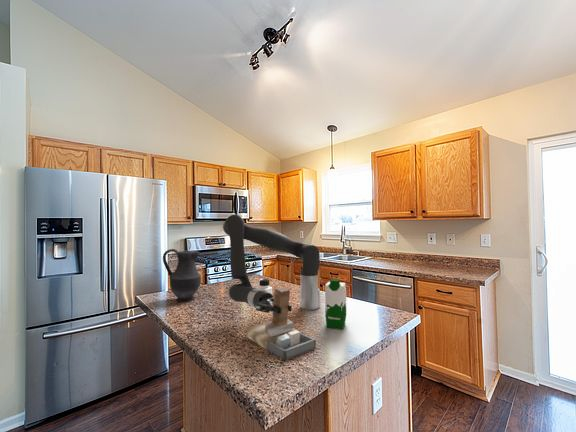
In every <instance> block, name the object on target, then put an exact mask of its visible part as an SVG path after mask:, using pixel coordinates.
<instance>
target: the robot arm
mask: <svg viewBox="0 0 576 432" xmlns="http://www.w3.org/2000/svg"><path fill="white" fill-rule="evenodd" d="M222 228H223V232H224V233H225V234H226V235H228V236H229V240H230V241H229V242H230V254H229V256H230V258H229V263H230V264H229V265H230V273H231V274H230V275H231V278H232V279H234V280H239V281H240V283H235V284H233V285H231V286H230V287H229V289H228V295H229V297H230V299H231V300H232V301H235V302H238V303H246V304H248V305H251V307H253V308H255V311H257V312H262V313H268V314H269V313H273V312H276V313H278V314H281V313H282V309H281V307H278V306H276V305H275V306H274V294H273V293H272V294H271V293H269V292H266V291H264V290H261V289H256V288H257V287H254V286H252V284H251V281H250V279H249V276H248V273H247V265H246V256H245V245H244V244H245V242H244V241H245V240H246V241H249V242H251V243H254V244H256V245H260V246H262V247H264V248H268V249H270V250H273V251H276V252H280V253H287V254H290V255H292V256H294V257H297V258H298V259H300V260H302V268H301V269H300V308H301V309H303V310H307V311H308V310H309V311H312V310H313V311H314V310H317V309H319V308H320V307H321V301H320V300H321V296H320V295H321V293H320V292H321V291H320V288H319V270H320V260H321V259H320V258H321V257H320V249H319V248H318V246H317V245H314V244H312V243H311V244H310V243H305V242H299V241H297V240H294V239H292V238H290V237H288V236H286V235H284V234H283V233H280V232H278V231H275V230H273V229H269V228H268V229H267V228H264V227H262V228H261V227H253V226H250V225H247V224H245V221H244V219H243V217H242V216H240V215H238V214H231V215H230V216H228V217H227V218H226V219H225V221H224V222H223V225H222ZM292 307H293V306H292V304H289V306H288V313H289V312H292V309H293V308H292Z"/></svg>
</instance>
